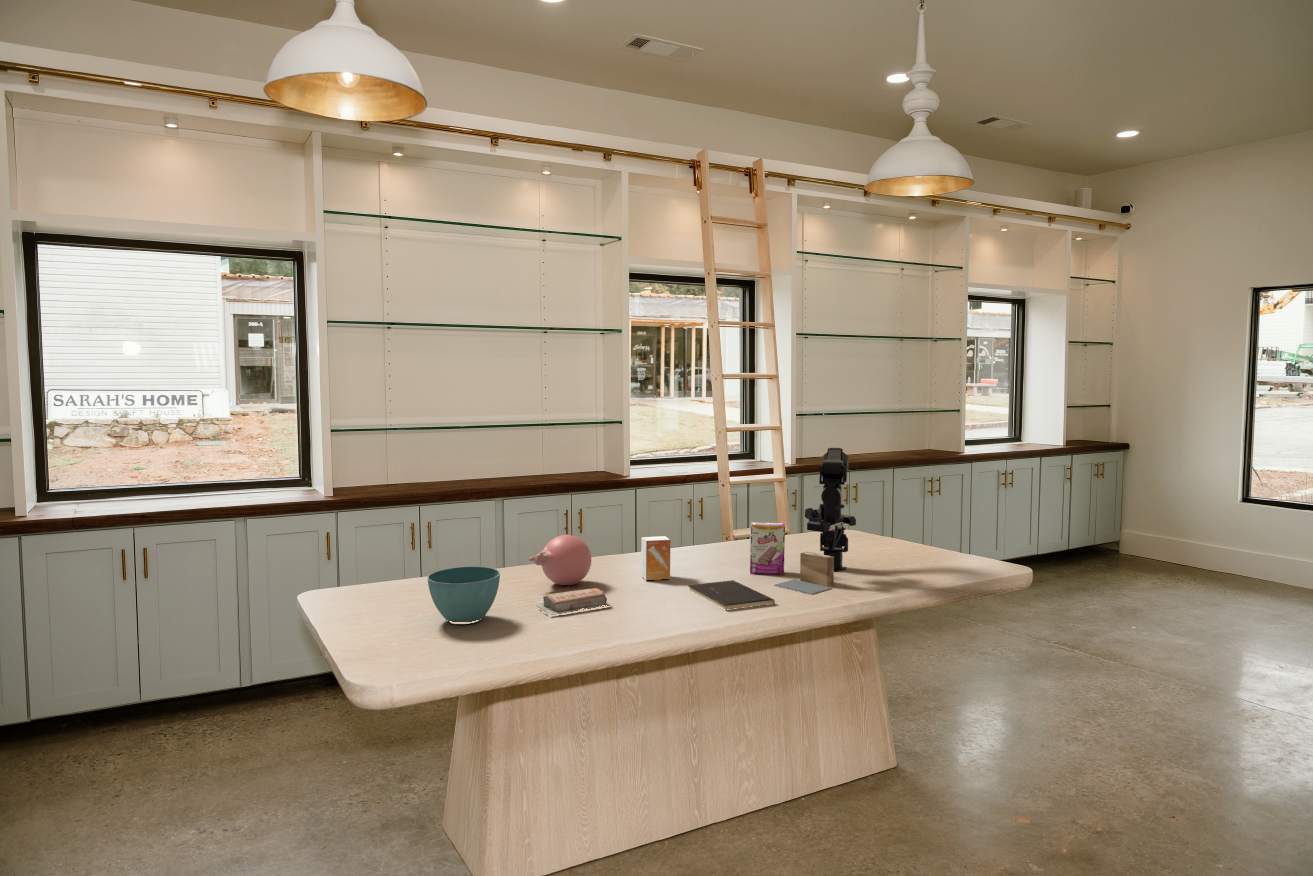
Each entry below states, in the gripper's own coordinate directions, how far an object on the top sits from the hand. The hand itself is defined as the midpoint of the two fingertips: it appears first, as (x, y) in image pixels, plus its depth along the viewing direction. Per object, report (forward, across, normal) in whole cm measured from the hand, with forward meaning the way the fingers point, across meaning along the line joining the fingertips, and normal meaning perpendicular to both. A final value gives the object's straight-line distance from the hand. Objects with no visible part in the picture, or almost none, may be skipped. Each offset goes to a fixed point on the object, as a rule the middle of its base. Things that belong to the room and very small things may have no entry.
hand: (831, 550), depth 245 cm
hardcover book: (+10, +40, -7) cm, 42 cm away
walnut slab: (+9, +8, 0) cm, 12 cm away
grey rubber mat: (+9, +15, 0) cm, 17 cm away
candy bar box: (+10, +9, -19) cm, 23 cm away
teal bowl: (+9, +108, -38) cm, 115 cm away
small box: (+10, +41, -38) cm, 56 cm away
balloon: (+9, +69, -51) cm, 86 cm away
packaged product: (+10, +80, -28) cm, 85 cm away
